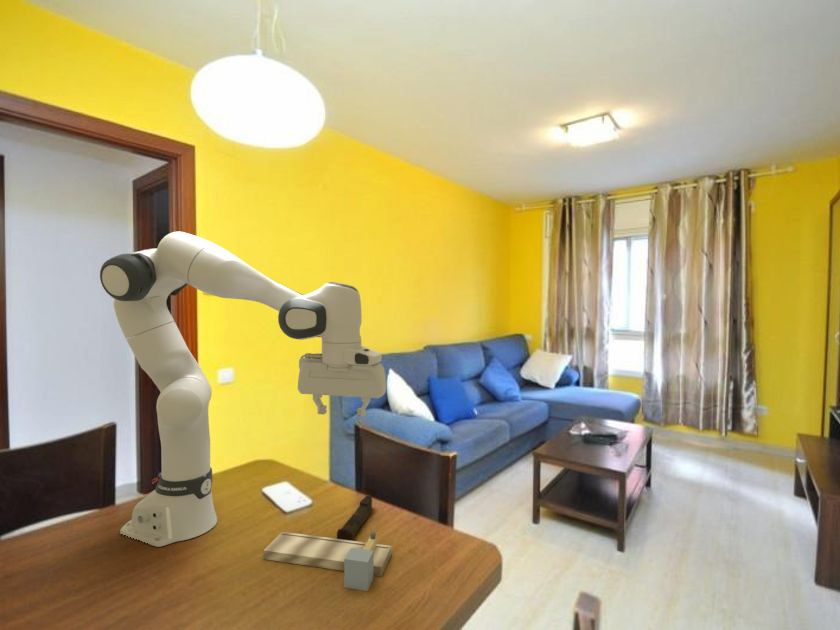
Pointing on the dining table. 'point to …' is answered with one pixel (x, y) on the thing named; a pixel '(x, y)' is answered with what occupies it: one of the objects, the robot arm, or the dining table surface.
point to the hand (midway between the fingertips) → (341, 415)
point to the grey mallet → (360, 565)
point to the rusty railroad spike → (356, 520)
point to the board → (321, 551)
